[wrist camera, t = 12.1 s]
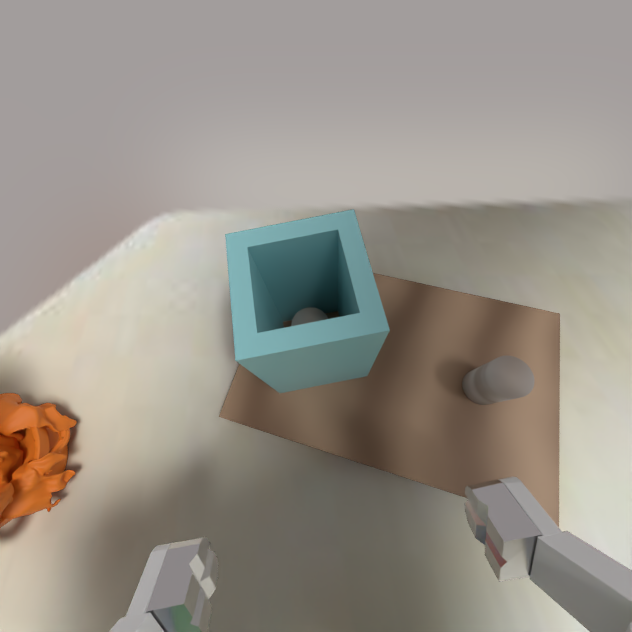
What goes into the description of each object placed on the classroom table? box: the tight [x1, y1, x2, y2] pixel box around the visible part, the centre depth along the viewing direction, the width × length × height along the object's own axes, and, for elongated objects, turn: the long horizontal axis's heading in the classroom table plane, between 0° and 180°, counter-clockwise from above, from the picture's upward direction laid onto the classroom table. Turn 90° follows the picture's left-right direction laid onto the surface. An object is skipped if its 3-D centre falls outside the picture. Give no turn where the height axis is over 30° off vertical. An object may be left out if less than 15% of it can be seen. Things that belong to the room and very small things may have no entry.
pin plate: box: [219, 273, 560, 527], centre depth 20 cm, size 22×14×6 cm, turn 73°
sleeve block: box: [225, 209, 390, 393], centre depth 18 cm, size 6×6×10 cm
